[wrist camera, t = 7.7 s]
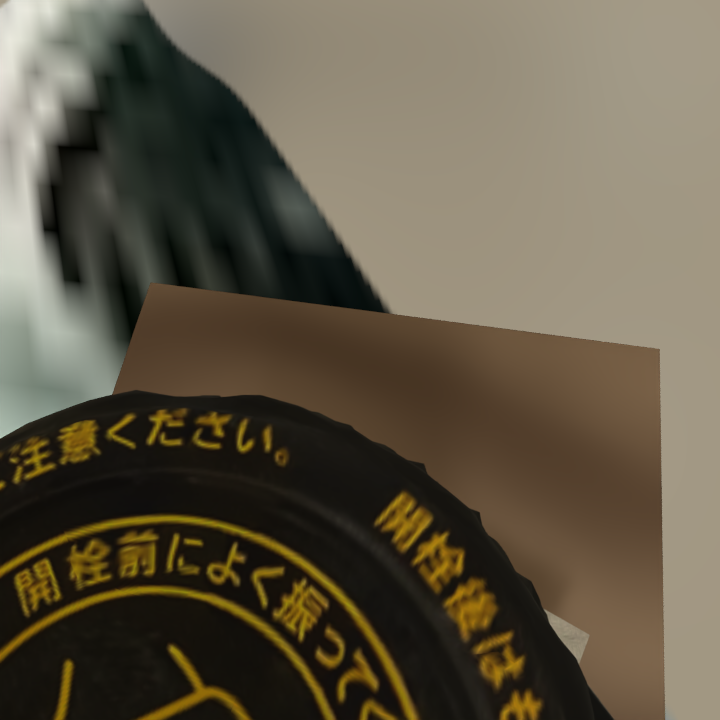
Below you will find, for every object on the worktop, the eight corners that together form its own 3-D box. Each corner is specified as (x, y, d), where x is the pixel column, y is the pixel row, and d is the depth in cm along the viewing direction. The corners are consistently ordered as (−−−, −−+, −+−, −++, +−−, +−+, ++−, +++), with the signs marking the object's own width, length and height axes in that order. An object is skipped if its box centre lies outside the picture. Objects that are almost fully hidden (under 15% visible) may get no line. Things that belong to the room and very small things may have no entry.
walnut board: (641, 1296, 12) (674, 1392, 10) (-85, 1076, 13) (-140, 1130, 12) (639, 367, 19) (659, 349, 17) (167, 303, 21) (150, 282, 19)
